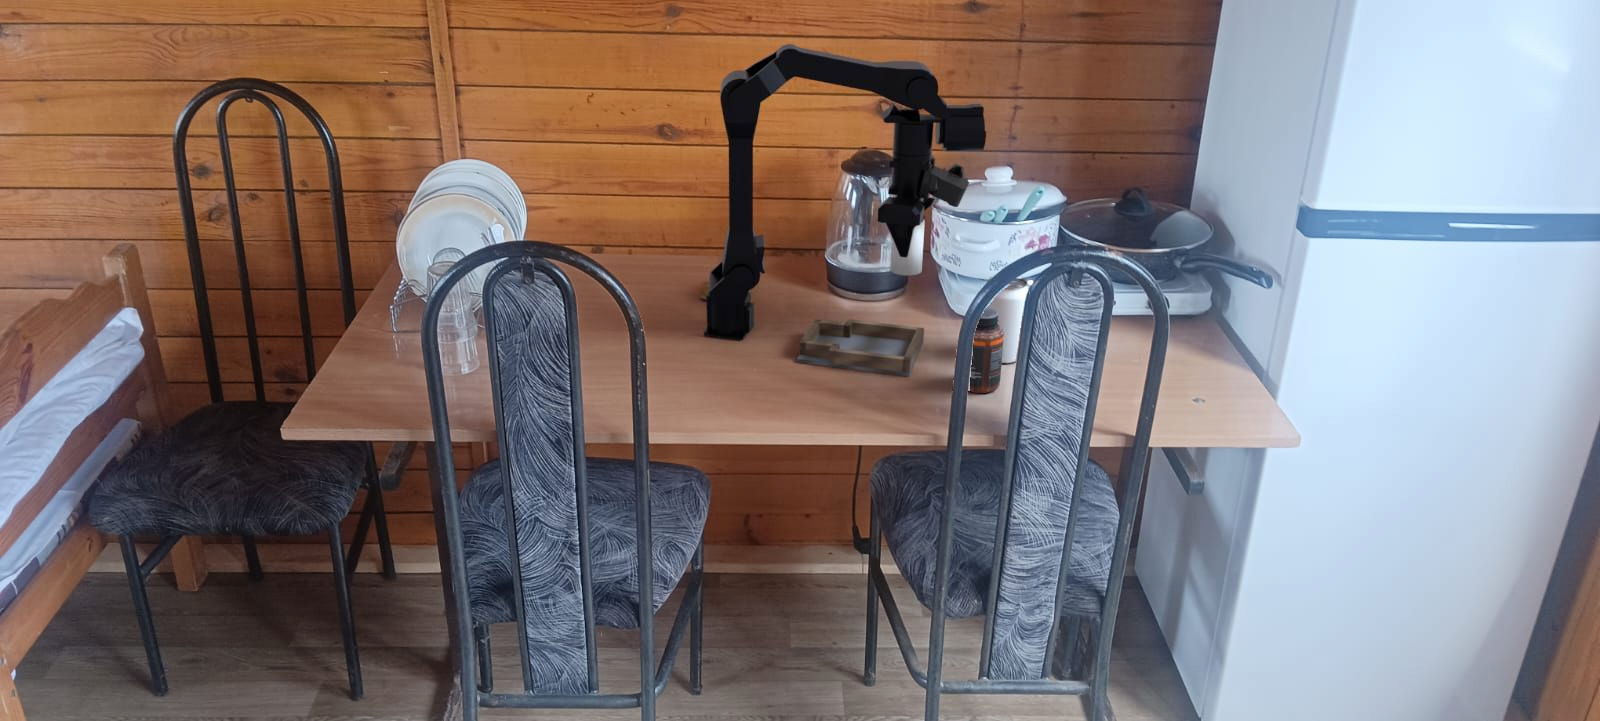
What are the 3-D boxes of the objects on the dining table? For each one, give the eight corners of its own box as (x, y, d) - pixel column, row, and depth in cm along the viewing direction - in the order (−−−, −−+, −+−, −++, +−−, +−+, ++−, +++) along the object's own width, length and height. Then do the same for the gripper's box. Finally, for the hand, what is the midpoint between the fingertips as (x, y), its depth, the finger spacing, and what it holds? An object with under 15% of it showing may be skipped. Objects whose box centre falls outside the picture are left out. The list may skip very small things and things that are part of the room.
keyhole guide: (796, 362, 170) (797, 346, 169) (817, 330, 180) (817, 315, 179) (909, 376, 166) (910, 360, 165) (923, 343, 177) (924, 328, 175)
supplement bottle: (1003, 380, 165) (1010, 307, 161) (995, 397, 160) (1002, 323, 156) (962, 373, 167) (967, 301, 162) (953, 391, 162) (958, 317, 157)
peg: (887, 273, 176) (890, 223, 172) (893, 263, 180) (896, 214, 177) (918, 277, 175) (921, 226, 171) (924, 266, 179) (927, 217, 176)
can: (1022, 366, 169) (1029, 291, 164) (977, 362, 171) (984, 287, 165) (1023, 348, 175) (1031, 275, 170) (980, 344, 176) (986, 271, 171)
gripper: (957, 172, 159) (950, 278, 166) (975, 140, 176) (967, 237, 182) (879, 166, 162) (874, 270, 169) (903, 134, 178) (898, 230, 185)
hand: (906, 251), depth 176 cm, fingers closed on peg, 5 cm apart
